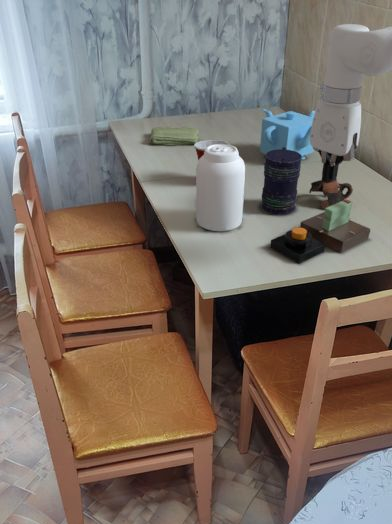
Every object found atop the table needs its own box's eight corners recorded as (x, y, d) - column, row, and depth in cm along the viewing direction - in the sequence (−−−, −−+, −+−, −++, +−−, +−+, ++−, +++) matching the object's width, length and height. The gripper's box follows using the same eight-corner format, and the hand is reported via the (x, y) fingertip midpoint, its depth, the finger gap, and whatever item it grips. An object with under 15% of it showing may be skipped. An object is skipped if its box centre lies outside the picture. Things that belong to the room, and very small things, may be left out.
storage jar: (262, 199, 160) (267, 136, 148) (295, 201, 158) (303, 138, 147) (259, 214, 152) (264, 149, 141) (294, 216, 151) (303, 151, 139)
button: (308, 237, 134) (309, 231, 133) (299, 242, 132) (300, 235, 131) (298, 232, 136) (298, 225, 135) (288, 236, 134) (289, 230, 133)
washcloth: (198, 146, 194) (198, 136, 192) (149, 145, 194) (149, 136, 192) (198, 133, 204) (198, 125, 202) (151, 133, 204) (151, 124, 202)
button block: (323, 251, 136) (326, 237, 133) (299, 263, 131) (301, 249, 129) (294, 237, 142) (296, 223, 139) (270, 247, 137) (271, 233, 135)
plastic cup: (220, 173, 175) (221, 135, 167) (233, 186, 167) (235, 147, 159) (188, 178, 172) (188, 139, 164) (200, 191, 164) (201, 151, 156)
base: (369, 238, 141) (372, 227, 139) (339, 253, 135) (341, 242, 133) (327, 219, 149) (329, 209, 147) (297, 233, 143) (299, 222, 141)
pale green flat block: (328, 231, 138) (332, 210, 134) (321, 228, 139) (325, 207, 135) (348, 222, 142) (352, 201, 138) (341, 219, 143) (345, 198, 139)
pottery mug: (311, 211, 154) (307, 182, 153) (312, 212, 163) (308, 184, 162) (355, 203, 151) (351, 173, 150) (353, 204, 160) (349, 176, 159)
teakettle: (259, 166, 180) (263, 120, 170) (259, 146, 194) (263, 102, 184) (316, 168, 178) (323, 122, 169) (312, 148, 193) (319, 104, 183)
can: (194, 231, 144) (195, 156, 131) (197, 211, 153) (197, 139, 141) (242, 233, 143) (246, 158, 130) (241, 212, 153) (246, 140, 140)
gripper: (301, 90, 114) (292, 175, 126) (359, 105, 105) (344, 195, 117) (324, 84, 118) (314, 167, 130) (383, 98, 109) (365, 186, 121)
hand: (328, 180), depth 123 cm, fingers closed
